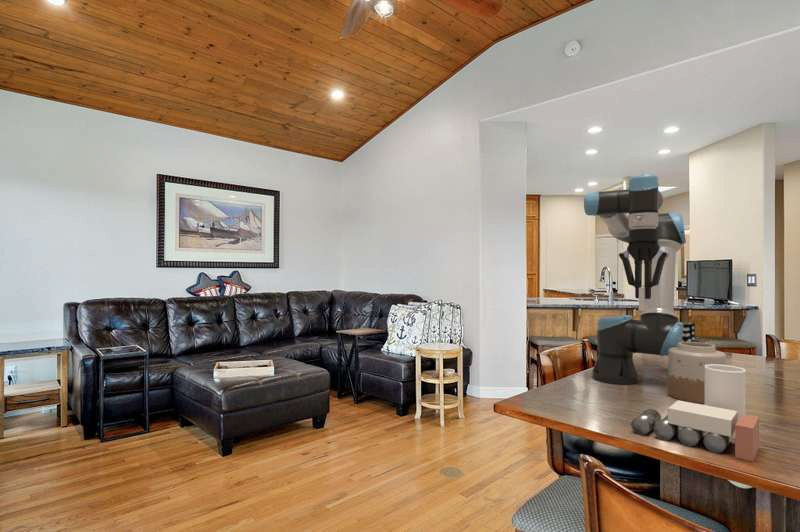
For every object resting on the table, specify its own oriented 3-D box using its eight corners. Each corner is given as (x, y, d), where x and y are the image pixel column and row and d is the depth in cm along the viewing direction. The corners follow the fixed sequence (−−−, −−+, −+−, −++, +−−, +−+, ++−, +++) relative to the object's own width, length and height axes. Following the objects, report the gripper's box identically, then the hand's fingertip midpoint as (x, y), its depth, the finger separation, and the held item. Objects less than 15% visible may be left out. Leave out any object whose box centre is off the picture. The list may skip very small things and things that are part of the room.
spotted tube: (686, 379, 164) (686, 324, 164) (664, 374, 171) (664, 322, 171) (699, 377, 168) (699, 323, 168) (677, 372, 175) (677, 321, 175)
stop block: (735, 457, 96) (735, 424, 96) (742, 444, 103) (742, 414, 103) (752, 461, 94) (752, 428, 94) (759, 448, 101) (759, 417, 101)
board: (668, 423, 105) (668, 408, 105) (677, 414, 112) (677, 400, 112) (730, 436, 97) (730, 420, 97) (737, 426, 103) (737, 411, 103)
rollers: (631, 432, 110) (631, 416, 111) (643, 422, 118) (643, 407, 118) (725, 455, 97) (725, 436, 97) (733, 442, 104) (733, 425, 104)
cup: (696, 427, 115) (696, 364, 115) (726, 426, 115) (726, 363, 115) (722, 439, 106) (722, 371, 107) (754, 438, 107) (754, 371, 107)
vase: (731, 398, 141) (732, 344, 141) (718, 408, 130) (718, 350, 130) (677, 387, 152) (677, 338, 152) (660, 396, 142) (660, 343, 142)
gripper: (615, 229, 132) (614, 309, 132) (664, 226, 123) (664, 312, 123) (623, 230, 137) (623, 307, 137) (672, 228, 128) (672, 310, 128)
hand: (643, 310), depth 130 cm, fingers closed
